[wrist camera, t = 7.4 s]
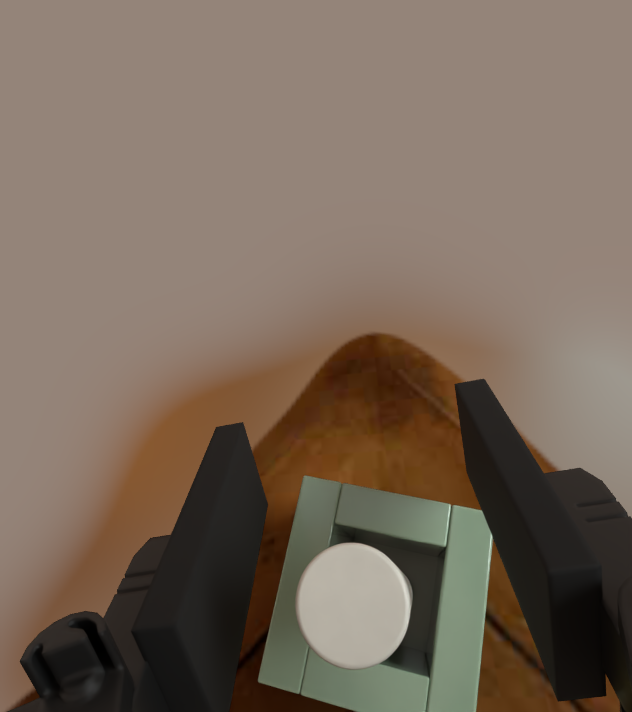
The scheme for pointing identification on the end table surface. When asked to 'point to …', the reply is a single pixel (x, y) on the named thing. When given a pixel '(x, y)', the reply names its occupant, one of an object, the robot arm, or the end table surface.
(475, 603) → the pen holder
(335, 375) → the end table surface
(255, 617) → the end table surface
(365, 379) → the end table surface
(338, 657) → the white peg
